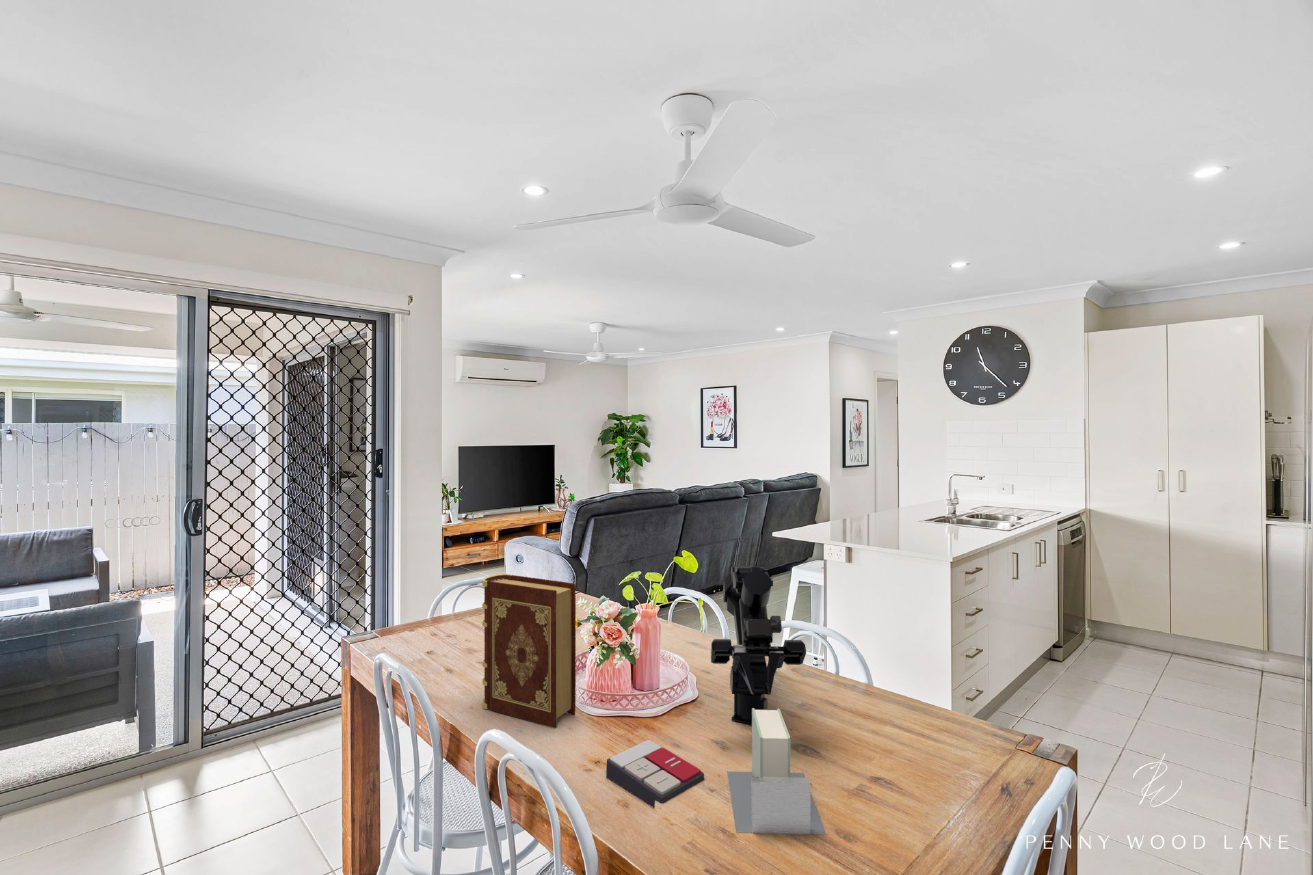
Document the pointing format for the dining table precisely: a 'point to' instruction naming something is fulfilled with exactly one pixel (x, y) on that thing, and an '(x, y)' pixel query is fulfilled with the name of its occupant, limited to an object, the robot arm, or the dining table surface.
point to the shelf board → (742, 804)
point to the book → (770, 744)
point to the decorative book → (529, 647)
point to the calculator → (652, 772)
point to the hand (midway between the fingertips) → (761, 693)
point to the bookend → (780, 805)
